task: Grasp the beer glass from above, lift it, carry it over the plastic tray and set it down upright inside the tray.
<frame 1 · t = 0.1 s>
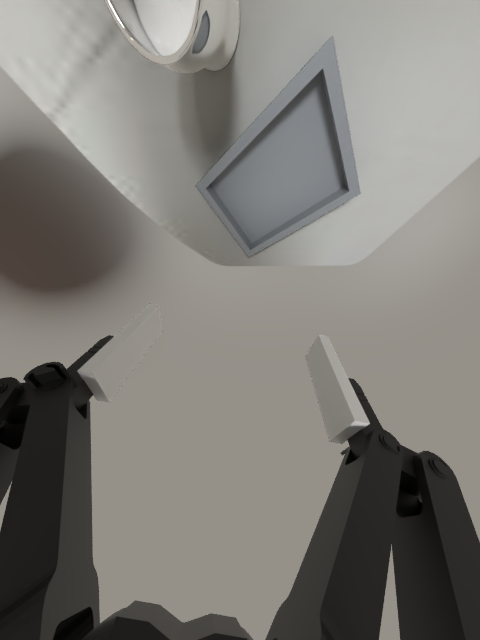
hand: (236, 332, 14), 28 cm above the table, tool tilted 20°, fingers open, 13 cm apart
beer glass: (211, 19, 18), on the table
tray: (274, 182, 28), on the table
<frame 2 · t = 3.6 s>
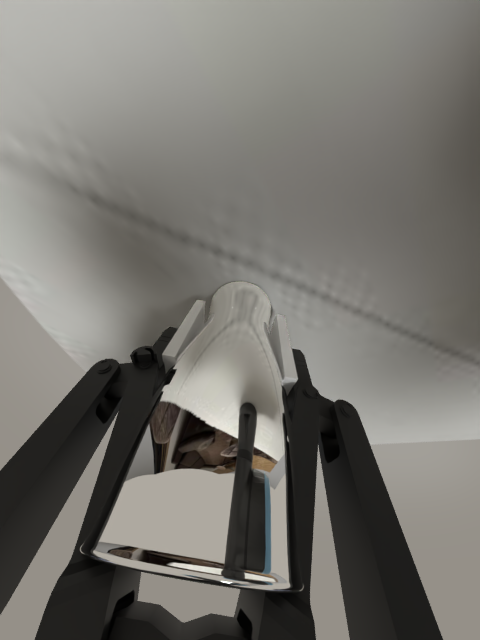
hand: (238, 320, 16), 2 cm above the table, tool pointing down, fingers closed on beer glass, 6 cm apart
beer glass: (240, 307, 17), on the table, touching gripper
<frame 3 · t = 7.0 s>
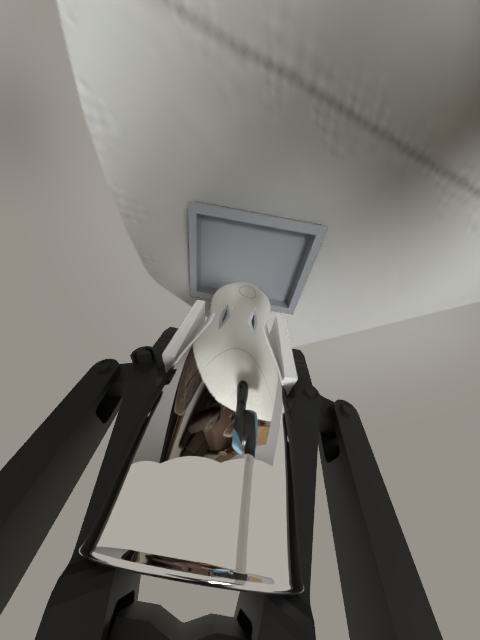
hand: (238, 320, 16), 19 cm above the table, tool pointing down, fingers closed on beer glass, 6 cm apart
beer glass: (240, 307, 17), point 17 cm above the table, touching gripper
tray: (249, 260, 31), on the table
when the fingers open (4 cm above the table, at t = 10.3 s): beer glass drops 1 cm, resting on tray.
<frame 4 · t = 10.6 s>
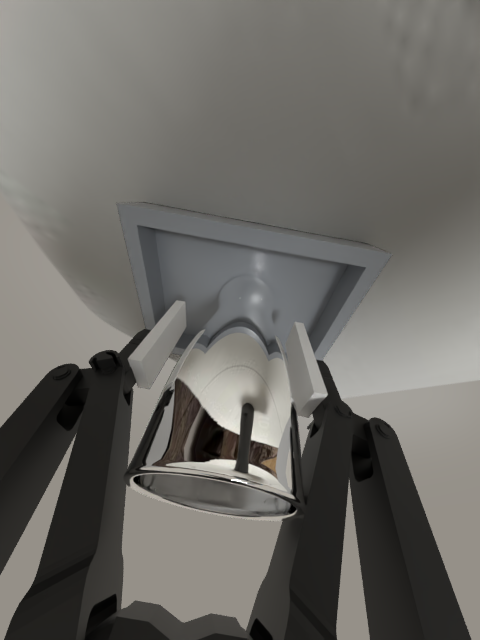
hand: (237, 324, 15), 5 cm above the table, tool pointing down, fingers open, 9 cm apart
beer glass: (246, 301, 19), point 1 cm above the table, touching tray
tray: (242, 297, 19), on the table
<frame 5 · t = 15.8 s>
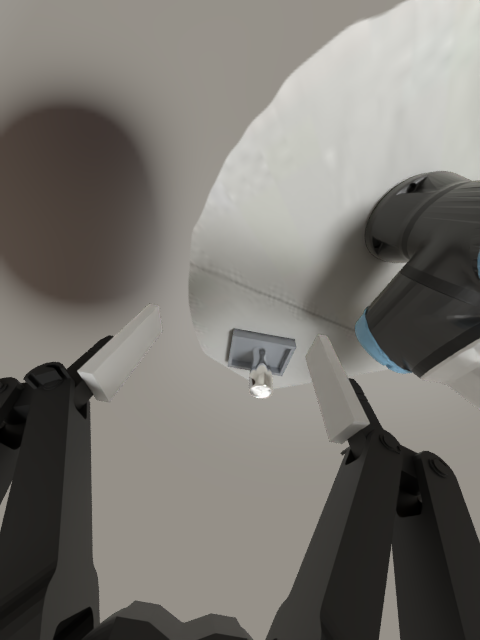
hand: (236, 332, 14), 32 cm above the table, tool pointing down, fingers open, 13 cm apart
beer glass: (260, 351, 59), point 1 cm above the table, touching tray
tray: (259, 349, 59), on the table
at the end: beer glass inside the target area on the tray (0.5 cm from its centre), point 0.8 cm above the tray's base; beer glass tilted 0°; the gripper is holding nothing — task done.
